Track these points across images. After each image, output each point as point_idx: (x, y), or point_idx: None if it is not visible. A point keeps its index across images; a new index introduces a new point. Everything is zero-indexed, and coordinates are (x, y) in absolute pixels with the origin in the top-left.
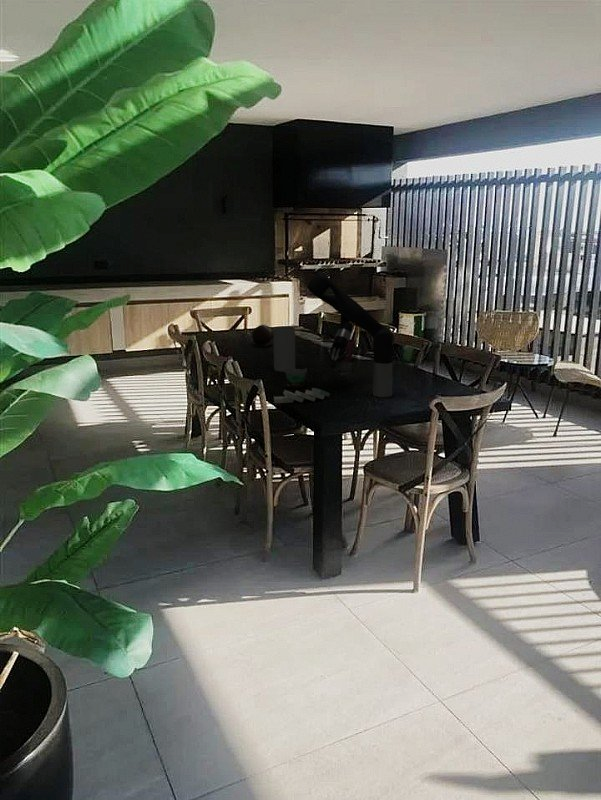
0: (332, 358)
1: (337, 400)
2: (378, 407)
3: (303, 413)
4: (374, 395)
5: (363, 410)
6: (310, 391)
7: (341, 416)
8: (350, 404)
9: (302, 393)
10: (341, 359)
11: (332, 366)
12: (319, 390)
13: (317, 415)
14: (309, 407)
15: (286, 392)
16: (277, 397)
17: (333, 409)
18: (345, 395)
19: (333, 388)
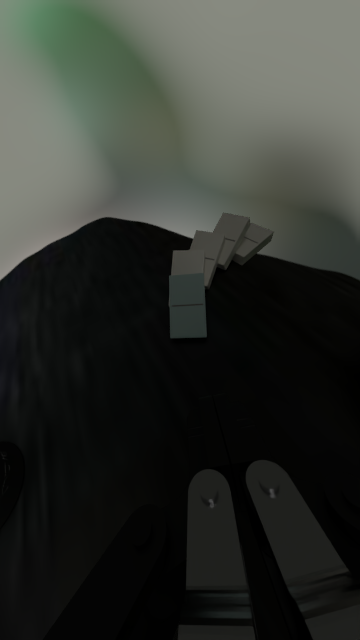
0: (264, 476)
1: (132, 323)
2: (9, 331)
3: (154, 225)
4: (15, 448)
5: (46, 293)
6: (186, 251)
7: (83, 247)
8: (85, 313)
9: (195, 235)
10: (134, 631)
11: (204, 398)
12: (173, 276)
13: (126, 230)
14: (165, 250)
15: (231, 215)
16: (261, 232)
17: (112, 265)
18: (131, 391)
19: None
